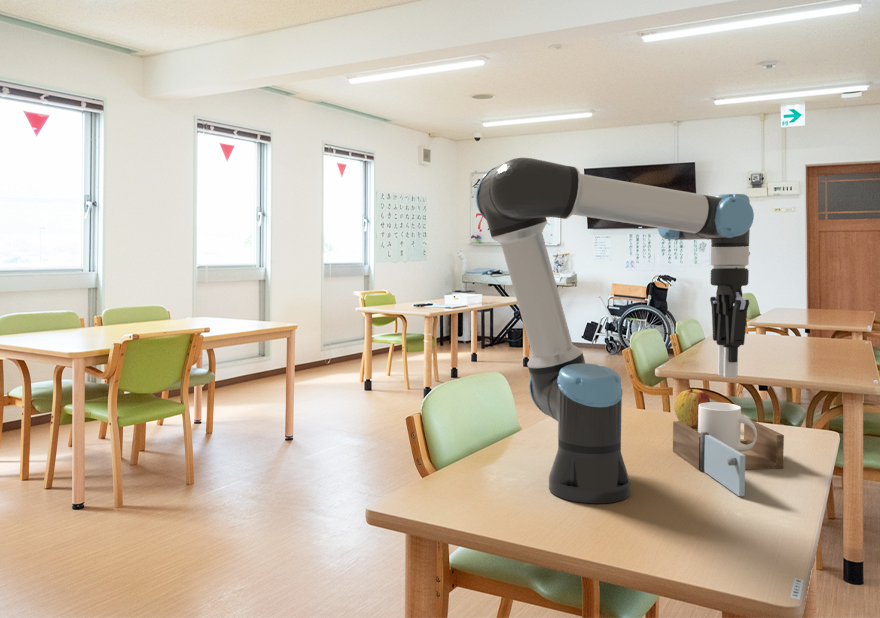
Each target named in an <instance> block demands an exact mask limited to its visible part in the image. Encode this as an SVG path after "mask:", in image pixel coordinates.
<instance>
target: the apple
mask: <svg viewBox="0 0 880 618" xmlns="http://www.w3.org/2000/svg"><path fill="white" fill-rule="evenodd" d="M710 400H711V399H710V397H709V395H708V394H707V392H705V391H703V390H700V389H692V388H690V389H686V390H683V391H681V392H680V393H678V395H677V396H676V398H675V401H674V407H673V408H674V409H673V410H674V413H675V415H676V418H677V420H678V421H680V422H682V423H684V424H685V425H687V426H689V427H691V428H692V429H696V428H698V409H699V404H701V403H707V402H711V401H710Z"/></svg>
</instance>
